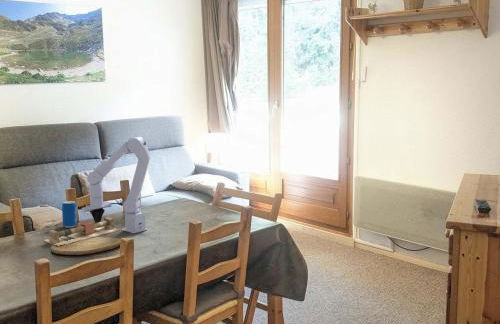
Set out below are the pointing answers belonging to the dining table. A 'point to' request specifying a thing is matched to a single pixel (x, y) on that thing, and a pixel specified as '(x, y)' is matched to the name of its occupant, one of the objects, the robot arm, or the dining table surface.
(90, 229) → the salmon red block
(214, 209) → the dining table surface
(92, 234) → the rod rig
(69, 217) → the beverage can
